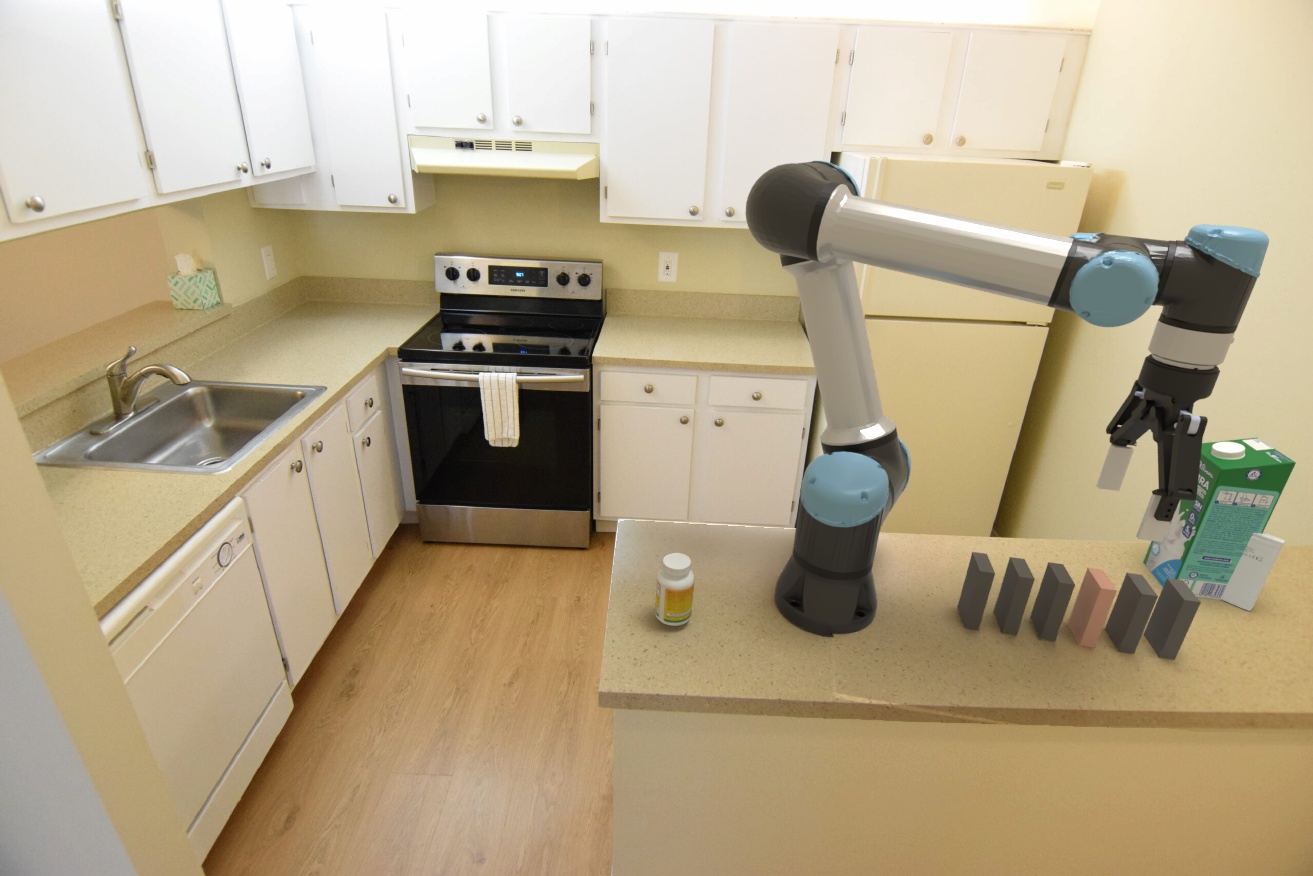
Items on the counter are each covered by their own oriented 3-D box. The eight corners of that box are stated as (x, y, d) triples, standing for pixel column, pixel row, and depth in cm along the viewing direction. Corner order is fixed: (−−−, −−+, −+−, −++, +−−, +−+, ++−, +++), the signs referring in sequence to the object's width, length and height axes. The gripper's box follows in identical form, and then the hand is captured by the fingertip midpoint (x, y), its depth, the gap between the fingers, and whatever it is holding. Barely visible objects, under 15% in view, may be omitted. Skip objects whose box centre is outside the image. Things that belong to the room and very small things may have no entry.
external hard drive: (1191, 582, 113) (1219, 516, 108) (1252, 608, 107) (1286, 540, 102) (1187, 585, 112) (1216, 519, 107) (1249, 612, 106) (1283, 543, 101)
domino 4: (1079, 645, 98) (1101, 588, 94) (1067, 623, 103) (1087, 567, 99) (1094, 648, 98) (1116, 590, 94) (1082, 625, 103) (1102, 569, 98)
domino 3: (1040, 639, 99) (1059, 582, 95) (1030, 617, 104) (1048, 562, 100) (1055, 641, 99) (1075, 584, 95) (1044, 619, 103) (1063, 564, 99)
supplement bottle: (647, 614, 101) (649, 559, 97) (672, 598, 104) (675, 545, 100) (674, 632, 98) (677, 576, 94) (699, 615, 101) (703, 561, 97)
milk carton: (1141, 563, 118) (1194, 430, 108) (1199, 570, 117) (1258, 436, 107) (1168, 595, 110) (1228, 455, 100) (1230, 603, 109) (1297, 461, 99)
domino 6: (1159, 657, 97) (1184, 599, 93) (1143, 634, 101) (1167, 578, 97) (1174, 660, 96) (1200, 602, 92) (1158, 636, 101) (1182, 580, 97)
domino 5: (1118, 651, 98) (1142, 593, 93) (1105, 628, 102) (1126, 572, 98) (1134, 653, 97) (1158, 596, 93) (1119, 630, 102) (1142, 574, 98)
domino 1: (964, 627, 101) (980, 571, 97) (957, 606, 105) (972, 551, 101) (978, 630, 101) (995, 573, 96) (971, 608, 105) (986, 553, 101)
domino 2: (1001, 633, 100) (1019, 576, 96) (993, 612, 105) (1009, 557, 100) (1016, 635, 100) (1034, 579, 96) (1007, 614, 104) (1024, 558, 100)
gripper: (1281, 399, 71) (1205, 569, 80) (1170, 335, 94) (1120, 474, 102) (1200, 391, 73) (1135, 559, 81) (1109, 330, 95) (1066, 467, 104)
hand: (1126, 512), depth 92 cm, fingers open, 13 cm apart
